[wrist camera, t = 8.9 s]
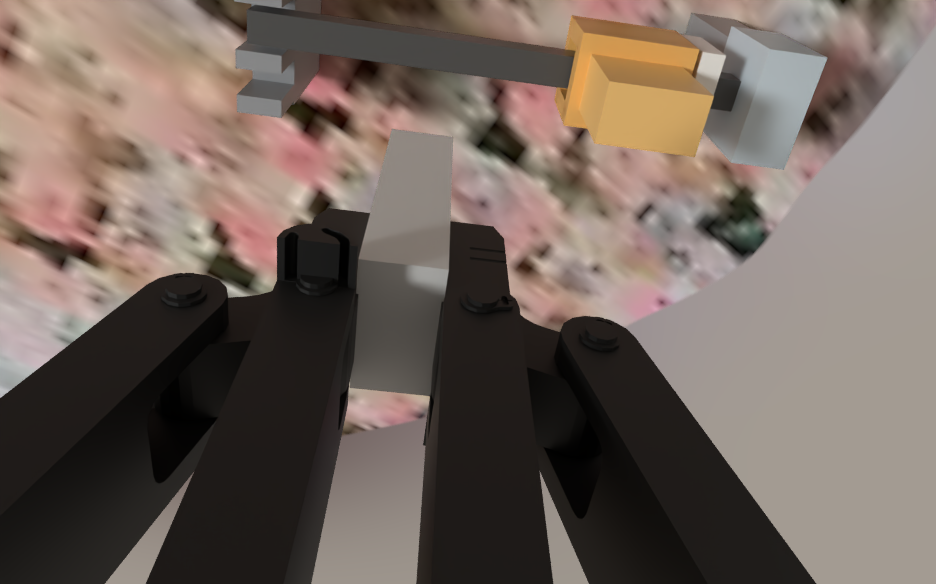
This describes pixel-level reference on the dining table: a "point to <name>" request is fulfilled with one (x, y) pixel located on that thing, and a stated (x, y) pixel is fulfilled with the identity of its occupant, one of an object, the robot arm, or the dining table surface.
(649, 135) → the orange rod clamp
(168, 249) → the dining table surface
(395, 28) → the rod fixture
